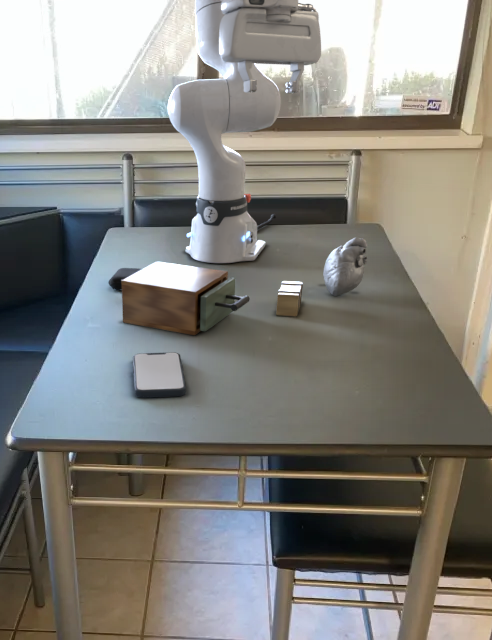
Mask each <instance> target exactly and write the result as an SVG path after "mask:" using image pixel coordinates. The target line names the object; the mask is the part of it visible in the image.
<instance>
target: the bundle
mask: <svg viewBox="0 0 492 640" xmlns="http://www.w3.org/2000/svg"><path fill="white" fill-rule="evenodd" d="M303 286H304V282H303V281H291V280H283V281H281V283H280V288H279V289H278V291H277V300H276V310H275V313H276V314H275V315H276V316H282V317H283V316H284V317H297V316H298V314H299V312H300V311H299V310H300V307H301V305H302V296H303V288H304V287H303Z"/></svg>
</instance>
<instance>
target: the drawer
mask: <svg viewBox="0 0 492 640" xmlns="http://www.w3.org/2000/svg"><path fill="white" fill-rule="evenodd" d="M250 300H251V299H250V296H249V295H247V294H245V295H243V296H238V295H236V277H231V276H230V277H228V279H227V280H225V281H224V282H223V279H221V280H220V281H218V282H217V283H215V284H213V285H212V286H210V287H209V288H207V289H206V290H204V291H203V292H201V293H199V294H198V295H197V326H198V325H199V324H200V332H207V331H208V330H210V329H211V328H212V327H214V326H215V325H217V324H218V323H219V322H220V321H222V320H224V319H225V318H226V317H227V316H229V315H231V313H233V312H237V311H238V310H239V309H240V308H242V307H243V306H245V305H246V304H248V303H249V302H250Z"/></svg>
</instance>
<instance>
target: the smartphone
mask: <svg viewBox="0 0 492 640" xmlns="http://www.w3.org/2000/svg"><path fill="white" fill-rule="evenodd" d="M132 373H133V384H134V395H135V397H138V398H144V399H145V398H166V397H167V398H168V397H182V396H185V395H186V392H187V386H186V381H185V376H184V368H183V364H182V357H181V354H180V353H179V352H176V351H170V352H169V351H168V352H144V353H143V352H141V353H135V354H134V355H132Z"/></svg>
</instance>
